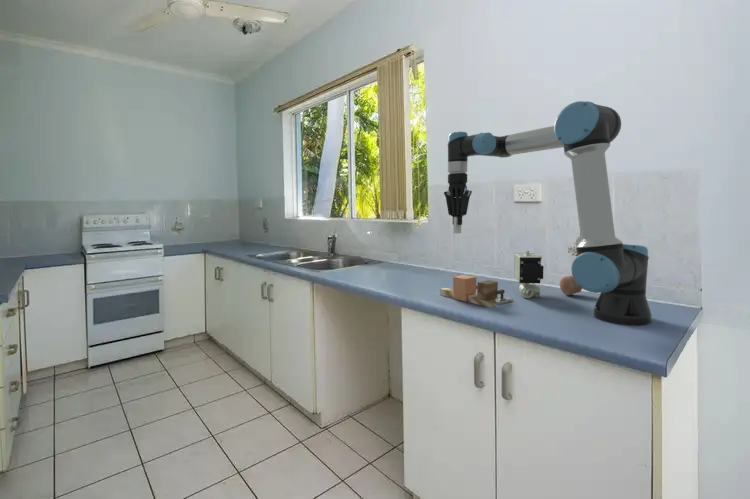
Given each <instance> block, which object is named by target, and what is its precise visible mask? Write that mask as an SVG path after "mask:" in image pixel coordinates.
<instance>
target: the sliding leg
mask: <svg viewBox="0 0 750 499" xmlns="http://www.w3.org/2000/svg"><path fill="white" fill-rule="evenodd" d="M452 289H453V292H454V298H453V300H459V301H461V302H462V301H463V302H466V301H467V295H468V294H474V295H475V293H476V290H477V277H476V276H472V275H466V274H461V275H457V276H453V277H452ZM466 303H467V302H466Z"/></svg>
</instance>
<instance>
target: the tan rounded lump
mask: <svg viewBox="0 0 750 499" xmlns="http://www.w3.org/2000/svg"><path fill="white" fill-rule="evenodd" d="M559 288H560V290H561V292H562V293H563V294H564V295H565V296H568V297H569V296H571V295H575V294H578V293H581V291H582V290H583V288H582V287H581V286H579V285H578V284H577V283H576V281H575V280H574V278H573V276H572V275H564V276H562V277H561V279H560V280H559Z"/></svg>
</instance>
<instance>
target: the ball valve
mask: <svg viewBox="0 0 750 499" xmlns="http://www.w3.org/2000/svg"><path fill="white" fill-rule="evenodd" d="M542 260H543V256H541V255H537V254H535V253H533V252H532V253H531V252H530V251H529V250H526V251H525V252H514V275H513V276H514V278H515V279H516V281H518V283H519V284H520V285H519V286H518V292H519V293H520V295H521V296H522V297H523V298H525V299H530V298H534V297H535V298H536V297H538V296H540V295H541V289H540V287H541V286H539V285H536V284H541V280H543V279H544V265H542Z"/></svg>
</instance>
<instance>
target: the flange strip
mask: <svg viewBox="0 0 750 499" xmlns="http://www.w3.org/2000/svg"><path fill="white" fill-rule="evenodd" d="M475 295H477V289H476V293H475ZM513 301H514V297H513V298H512V297H508V296H504V295H503V298H501V294H498V298H497V299H496V305H497V306H498V305H503V304H506V303H510V302H511V303H512V302H513Z"/></svg>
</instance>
